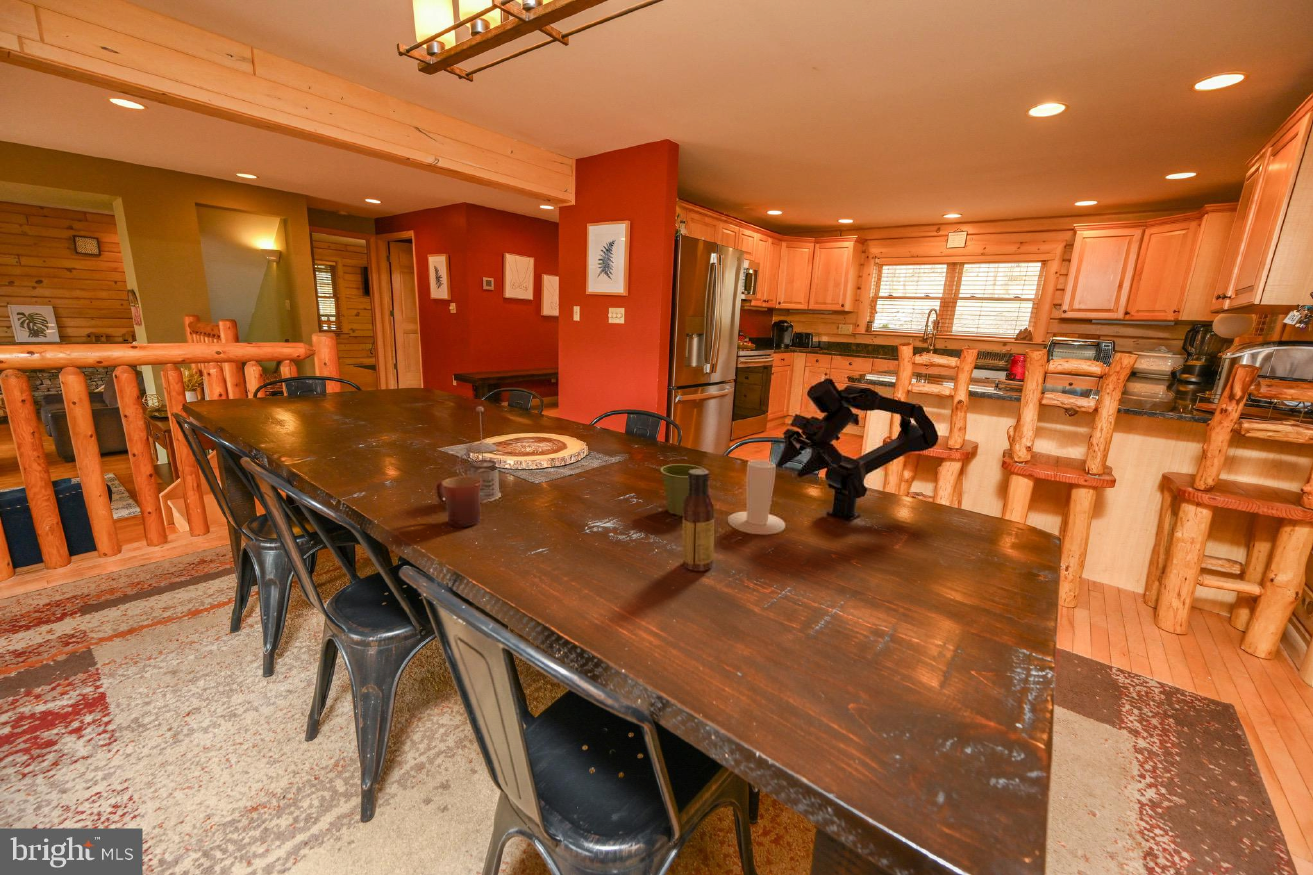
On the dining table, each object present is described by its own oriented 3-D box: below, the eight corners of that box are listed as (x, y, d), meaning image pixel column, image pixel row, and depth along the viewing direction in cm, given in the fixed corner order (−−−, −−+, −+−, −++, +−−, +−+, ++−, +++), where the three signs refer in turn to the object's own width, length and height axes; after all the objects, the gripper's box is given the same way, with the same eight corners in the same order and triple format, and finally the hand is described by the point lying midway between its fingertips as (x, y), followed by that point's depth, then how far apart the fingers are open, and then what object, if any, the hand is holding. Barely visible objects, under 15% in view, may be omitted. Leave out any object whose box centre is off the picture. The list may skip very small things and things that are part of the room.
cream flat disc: (750, 508, 133) (750, 507, 133) (796, 524, 123) (796, 523, 123) (716, 521, 124) (716, 519, 124) (762, 539, 114) (762, 538, 114)
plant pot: (714, 514, 128) (716, 472, 126) (677, 523, 122) (678, 479, 119) (686, 500, 138) (687, 461, 135) (650, 508, 131) (651, 467, 129)
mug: (491, 519, 120) (490, 479, 118) (465, 533, 112) (463, 489, 110) (453, 511, 125) (450, 472, 122) (425, 523, 117) (422, 482, 115)
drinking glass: (775, 521, 124) (780, 463, 121) (763, 529, 119) (768, 469, 116) (750, 514, 128) (755, 458, 125) (738, 522, 123) (742, 463, 120)
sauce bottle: (715, 561, 103) (721, 469, 98) (708, 575, 97) (714, 477, 92) (685, 556, 105) (689, 465, 100) (676, 569, 99) (680, 473, 94)
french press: (496, 504, 130) (492, 410, 125) (452, 503, 130) (446, 408, 125) (507, 492, 140) (504, 404, 134) (466, 490, 140) (461, 402, 134)
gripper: (792, 397, 129) (751, 440, 129) (837, 409, 112) (789, 459, 111) (816, 426, 133) (775, 468, 132) (862, 442, 116) (816, 490, 115)
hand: (787, 470), depth 123 cm, fingers open, 9 cm apart
